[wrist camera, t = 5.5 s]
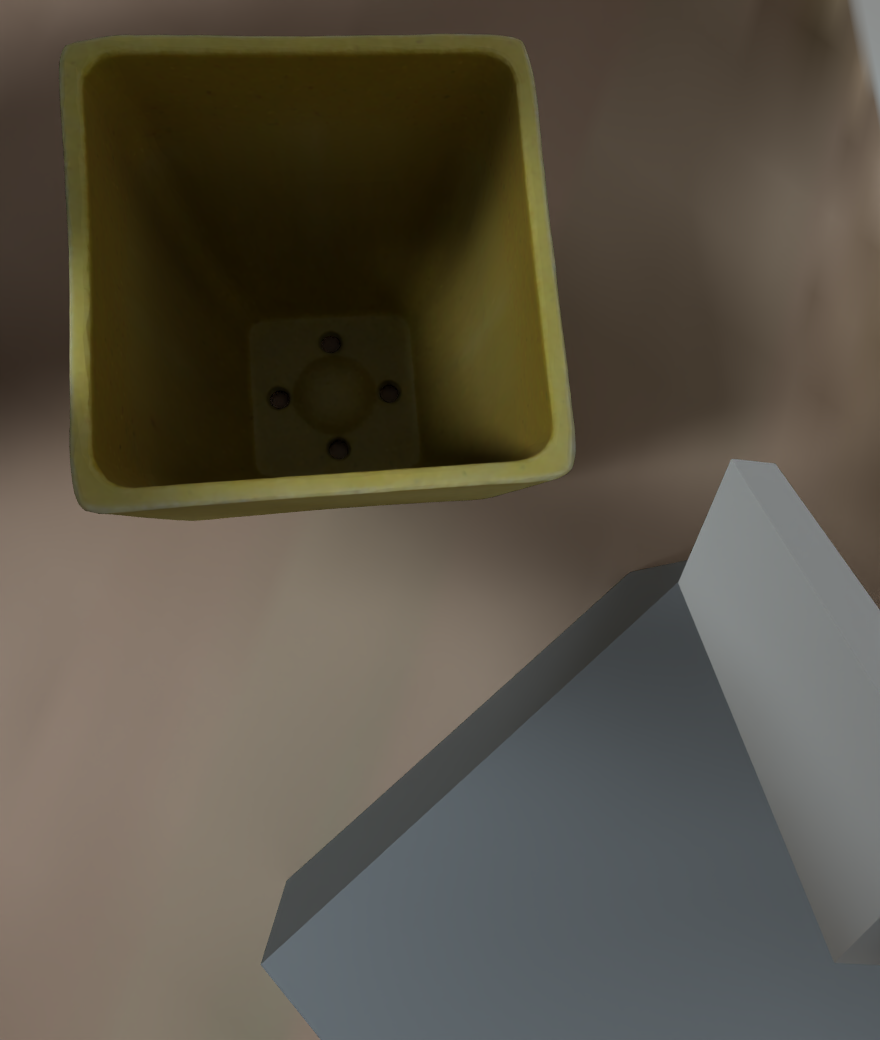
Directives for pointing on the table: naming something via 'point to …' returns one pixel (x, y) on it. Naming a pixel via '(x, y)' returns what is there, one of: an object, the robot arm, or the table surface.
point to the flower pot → (308, 273)
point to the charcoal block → (573, 867)
